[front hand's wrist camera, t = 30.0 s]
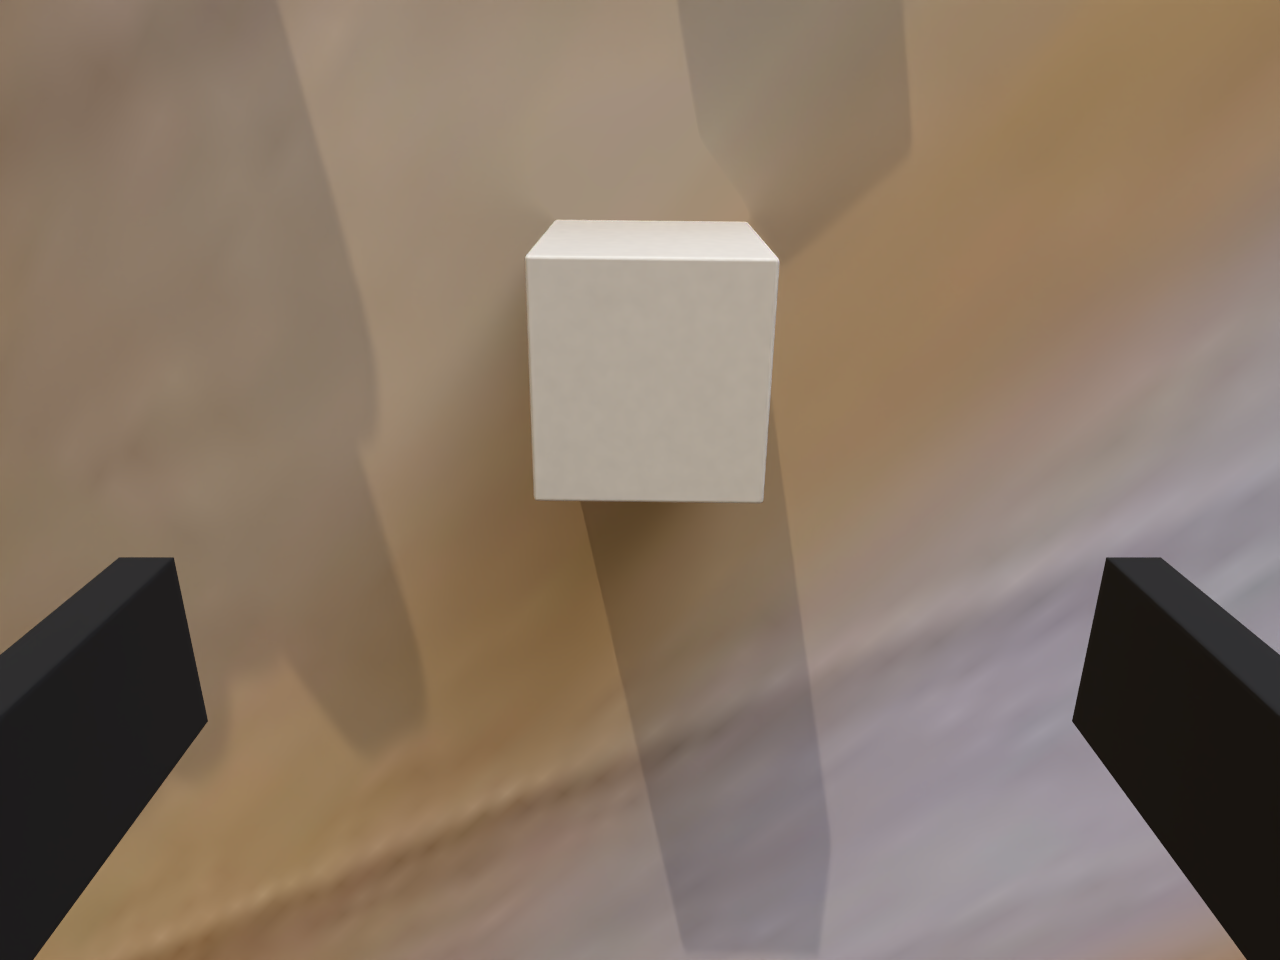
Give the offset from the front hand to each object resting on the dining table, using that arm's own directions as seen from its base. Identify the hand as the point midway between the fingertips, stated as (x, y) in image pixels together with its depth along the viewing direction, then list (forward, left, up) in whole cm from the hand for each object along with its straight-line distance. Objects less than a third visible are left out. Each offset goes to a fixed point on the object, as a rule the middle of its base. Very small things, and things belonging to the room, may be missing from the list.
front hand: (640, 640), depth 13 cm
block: (0, 0, -19) cm, 19 cm away
